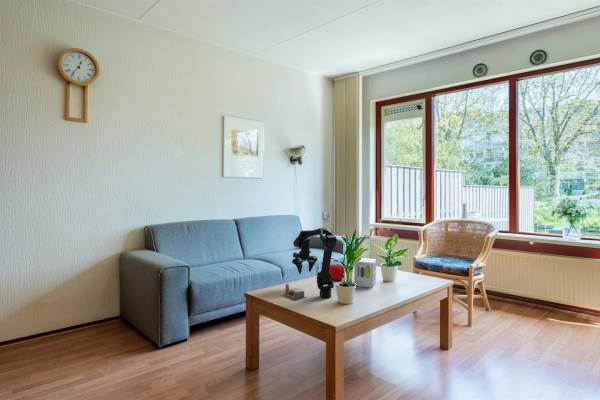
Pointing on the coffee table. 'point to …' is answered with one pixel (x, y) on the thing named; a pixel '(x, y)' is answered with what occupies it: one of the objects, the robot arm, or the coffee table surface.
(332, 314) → the coffee table surface
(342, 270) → the tomato
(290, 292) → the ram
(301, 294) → the beige mounting plate
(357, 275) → the supplement box
